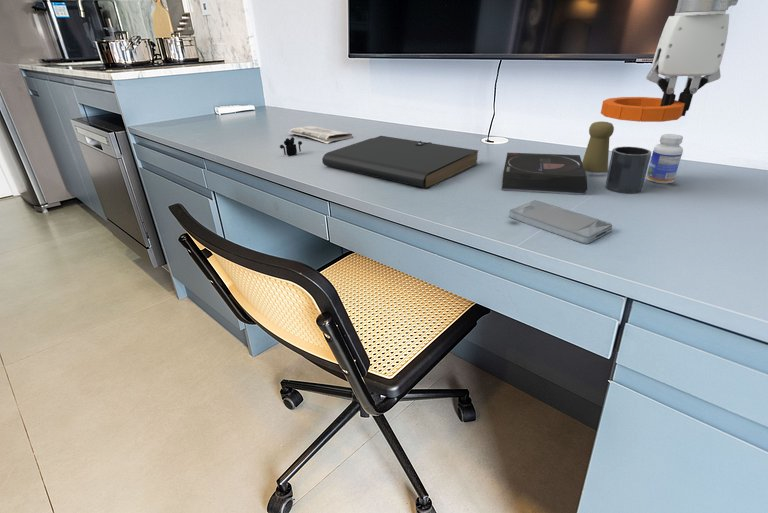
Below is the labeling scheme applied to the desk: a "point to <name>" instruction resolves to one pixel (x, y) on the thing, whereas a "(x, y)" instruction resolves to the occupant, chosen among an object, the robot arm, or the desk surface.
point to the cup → (627, 169)
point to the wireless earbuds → (290, 147)
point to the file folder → (403, 160)
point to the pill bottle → (665, 159)
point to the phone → (561, 221)
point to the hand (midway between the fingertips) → (672, 114)
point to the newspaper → (320, 133)
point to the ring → (641, 109)
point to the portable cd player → (544, 173)
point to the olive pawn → (598, 147)
